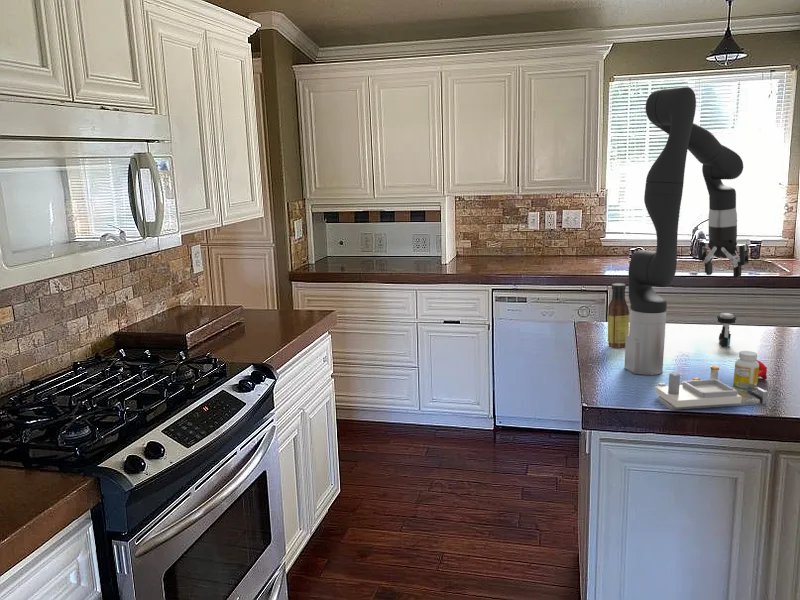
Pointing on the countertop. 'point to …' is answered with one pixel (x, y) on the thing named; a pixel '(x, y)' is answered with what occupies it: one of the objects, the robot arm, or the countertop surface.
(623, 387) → the countertop surface
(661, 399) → the index track
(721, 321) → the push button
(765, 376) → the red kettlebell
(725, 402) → the toothed carriage
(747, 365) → the supplement bottle
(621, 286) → the sauce bottle
